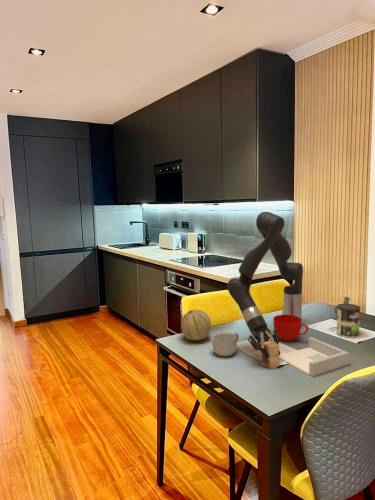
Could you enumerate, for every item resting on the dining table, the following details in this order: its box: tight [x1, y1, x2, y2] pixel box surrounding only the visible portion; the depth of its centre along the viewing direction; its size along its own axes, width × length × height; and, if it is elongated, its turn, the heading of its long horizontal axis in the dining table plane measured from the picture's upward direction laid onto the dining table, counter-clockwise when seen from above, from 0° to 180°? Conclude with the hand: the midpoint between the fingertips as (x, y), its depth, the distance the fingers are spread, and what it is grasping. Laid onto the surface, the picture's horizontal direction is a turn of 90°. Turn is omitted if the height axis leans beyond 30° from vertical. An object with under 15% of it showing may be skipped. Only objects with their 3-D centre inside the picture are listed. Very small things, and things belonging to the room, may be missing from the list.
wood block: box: [261, 340, 280, 370], centre depth 145 cm, size 5×5×9 cm
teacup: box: [211, 332, 240, 357], centre depth 159 cm, size 14×11×8 cm
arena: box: [279, 336, 350, 377], centre depth 148 cm, size 20×20×5 cm
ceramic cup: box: [272, 314, 309, 342], centre depth 171 cm, size 13×17×10 cm
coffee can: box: [336, 303, 361, 339], centre depth 176 cm, size 10×10×14 cm
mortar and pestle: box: [334, 296, 351, 316], centre depth 198 cm, size 11×9×12 cm
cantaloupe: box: [180, 309, 212, 341], centre depth 175 cm, size 15×15×15 cm
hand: (273, 356), depth 144 cm, fingers open, 5 cm apart
